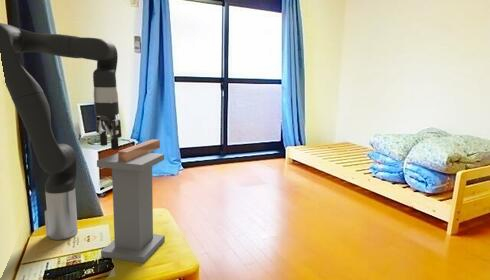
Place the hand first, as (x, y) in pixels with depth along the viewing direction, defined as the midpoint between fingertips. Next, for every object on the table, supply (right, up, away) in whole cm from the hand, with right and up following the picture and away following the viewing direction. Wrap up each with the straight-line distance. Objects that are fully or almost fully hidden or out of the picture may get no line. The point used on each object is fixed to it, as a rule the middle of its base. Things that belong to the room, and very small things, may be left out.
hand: (109, 147), depth 110 cm
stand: (+10, -34, -2) cm, 36 cm away
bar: (+12, -2, -2) cm, 12 cm away
